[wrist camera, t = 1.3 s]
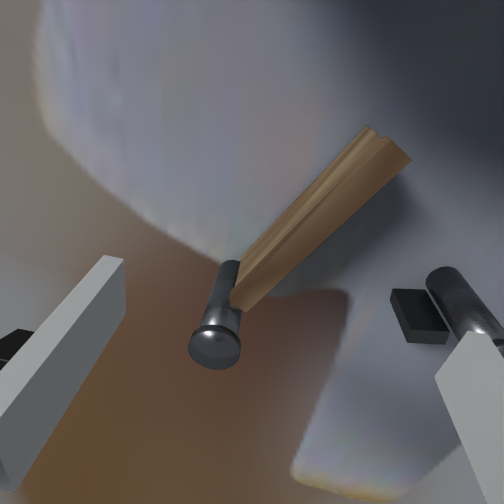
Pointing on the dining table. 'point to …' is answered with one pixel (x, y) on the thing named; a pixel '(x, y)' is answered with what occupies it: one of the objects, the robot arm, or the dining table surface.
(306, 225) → the brown wooden board
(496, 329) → the post
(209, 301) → the hinge post
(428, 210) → the dining table surface
